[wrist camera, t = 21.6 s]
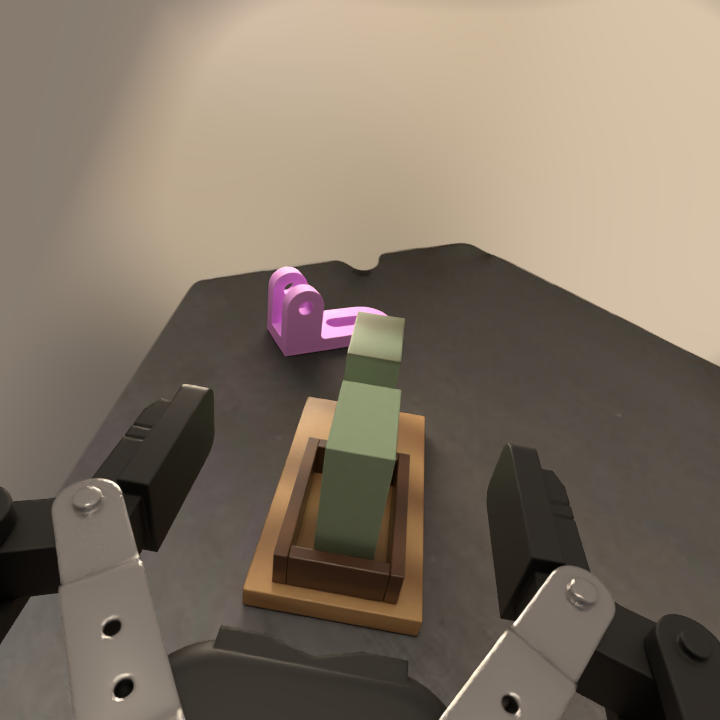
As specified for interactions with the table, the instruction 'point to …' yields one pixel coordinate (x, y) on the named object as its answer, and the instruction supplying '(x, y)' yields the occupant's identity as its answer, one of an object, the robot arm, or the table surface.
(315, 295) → the bracket
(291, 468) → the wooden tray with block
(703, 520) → the table surface
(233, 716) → the robot arm
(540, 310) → the table surface
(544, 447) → the table surface
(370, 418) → the green rectangular block
